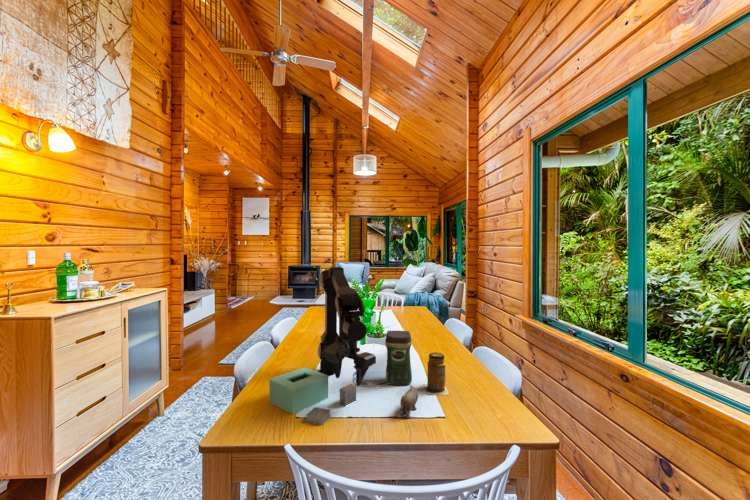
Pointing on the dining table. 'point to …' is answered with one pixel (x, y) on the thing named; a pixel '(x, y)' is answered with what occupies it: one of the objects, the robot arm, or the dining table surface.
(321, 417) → the block
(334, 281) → the robot arm
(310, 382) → the teal box
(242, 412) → the dining table surface
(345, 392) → the block
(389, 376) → the coffee jar
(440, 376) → the condiment
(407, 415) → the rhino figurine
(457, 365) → the dining table surface
